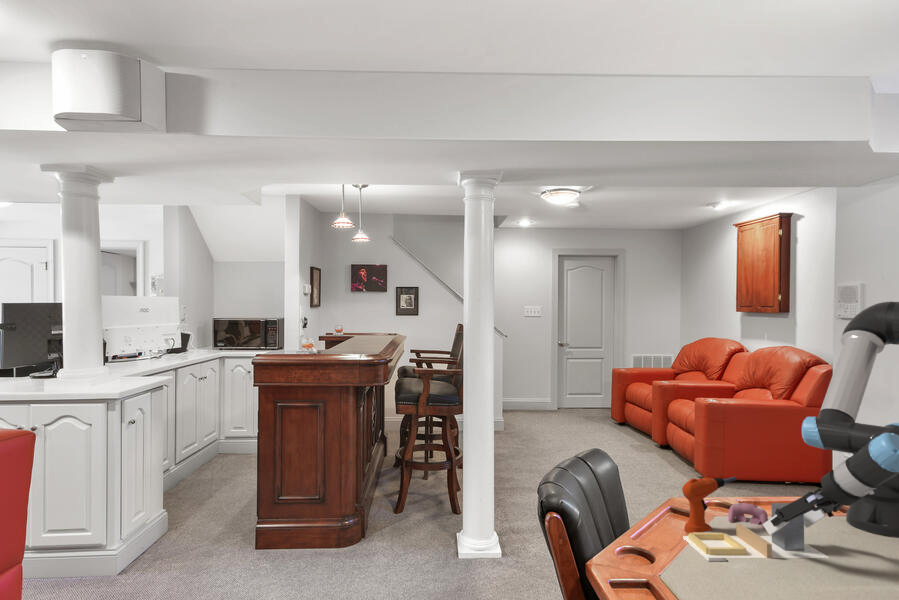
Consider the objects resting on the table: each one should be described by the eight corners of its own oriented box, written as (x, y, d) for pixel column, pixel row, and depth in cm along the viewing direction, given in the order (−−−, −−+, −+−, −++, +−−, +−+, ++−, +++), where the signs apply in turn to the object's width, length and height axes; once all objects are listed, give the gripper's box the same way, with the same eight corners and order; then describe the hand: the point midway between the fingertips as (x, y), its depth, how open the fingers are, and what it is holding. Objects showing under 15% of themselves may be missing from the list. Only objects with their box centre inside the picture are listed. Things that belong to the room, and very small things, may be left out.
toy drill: (747, 523, 148) (741, 470, 148) (693, 539, 142) (688, 484, 142) (733, 517, 153) (727, 465, 153) (680, 532, 147) (675, 479, 147)
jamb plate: (793, 539, 141) (793, 523, 142) (829, 561, 128) (829, 544, 129) (683, 538, 141) (683, 523, 141) (708, 561, 128) (708, 544, 128)
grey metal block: (790, 542, 137) (790, 503, 138) (804, 550, 132) (803, 510, 133) (771, 542, 137) (771, 503, 138) (784, 550, 132) (784, 510, 133)
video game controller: (768, 533, 149) (768, 508, 152) (768, 531, 145) (767, 505, 148) (728, 526, 154) (729, 501, 157) (727, 523, 151) (728, 498, 154)
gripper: (824, 504, 114) (761, 547, 127) (894, 492, 124) (828, 533, 137) (799, 473, 119) (741, 517, 133) (868, 463, 129) (807, 506, 142)
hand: (785, 526), depth 135 cm, fingers open, 13 cm apart
